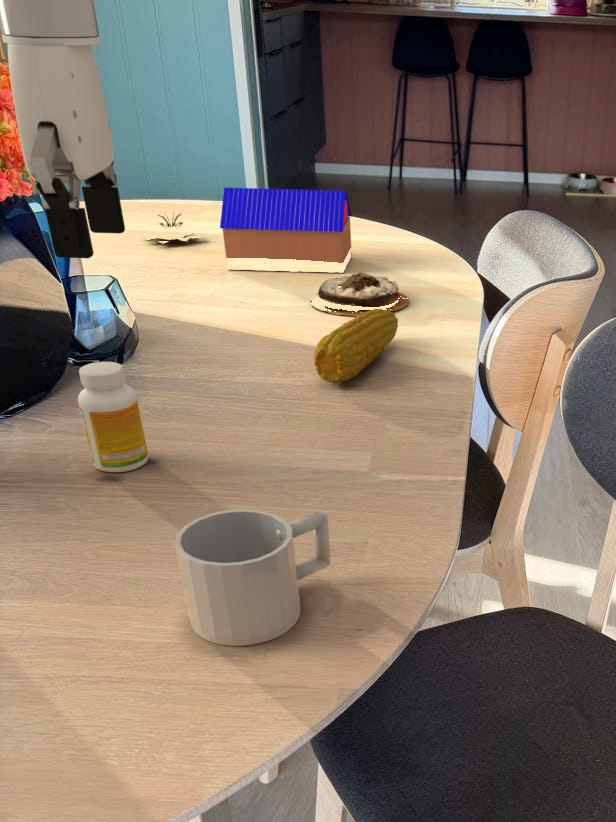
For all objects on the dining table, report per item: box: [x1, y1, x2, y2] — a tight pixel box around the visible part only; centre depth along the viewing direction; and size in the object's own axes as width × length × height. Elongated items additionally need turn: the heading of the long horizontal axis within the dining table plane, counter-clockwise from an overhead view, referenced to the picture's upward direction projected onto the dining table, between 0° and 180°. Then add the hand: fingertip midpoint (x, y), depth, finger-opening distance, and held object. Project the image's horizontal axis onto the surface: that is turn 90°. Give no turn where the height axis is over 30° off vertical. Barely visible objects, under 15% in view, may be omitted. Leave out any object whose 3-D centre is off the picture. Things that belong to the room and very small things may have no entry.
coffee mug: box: [174, 508, 332, 647], centre depth 72 cm, size 12×8×7 cm
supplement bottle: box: [77, 361, 149, 473], centre depth 91 cm, size 5×5×10 cm
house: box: [219, 187, 353, 263], centre depth 156 cm, size 12×20×12 cm, turn 89°
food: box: [313, 309, 399, 384], centre depth 118 cm, size 21×6×6 cm, turn 166°
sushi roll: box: [309, 271, 410, 317], centre depth 141 cm, size 15×15×4 cm
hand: (92, 244), depth 86 cm, fingers open, 9 cm apart
